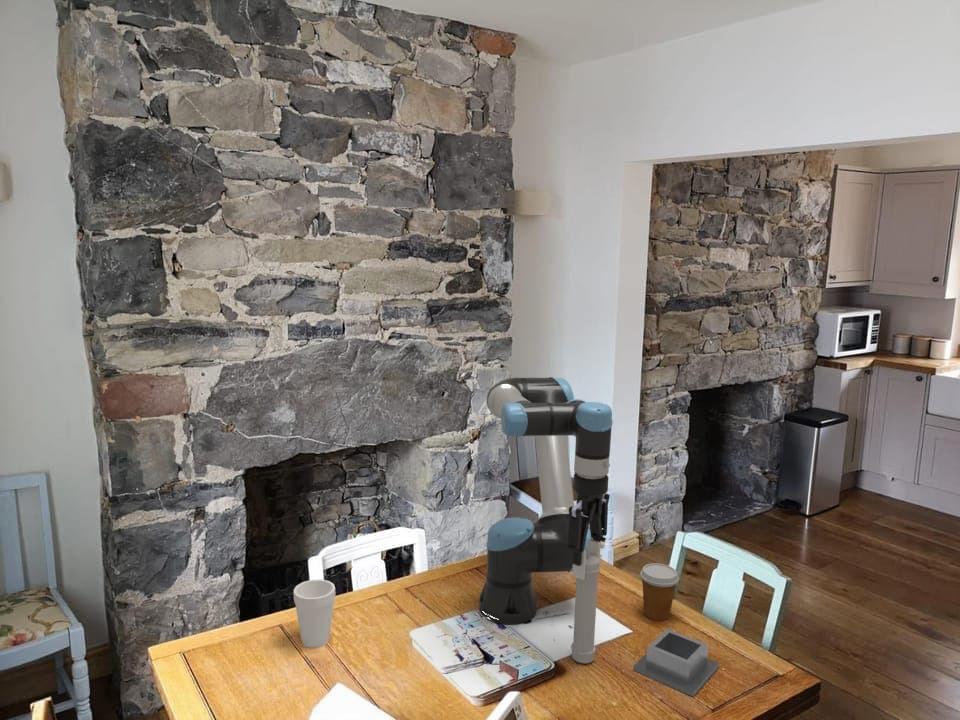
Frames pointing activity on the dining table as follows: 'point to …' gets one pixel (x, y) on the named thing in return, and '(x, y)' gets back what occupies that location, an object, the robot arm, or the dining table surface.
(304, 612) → the foam cup
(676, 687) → the pipe socket
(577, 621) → the pipe
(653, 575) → the disposable coffee cup
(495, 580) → the robot arm
